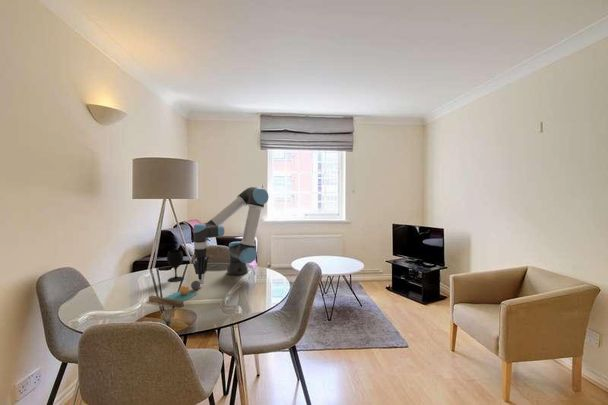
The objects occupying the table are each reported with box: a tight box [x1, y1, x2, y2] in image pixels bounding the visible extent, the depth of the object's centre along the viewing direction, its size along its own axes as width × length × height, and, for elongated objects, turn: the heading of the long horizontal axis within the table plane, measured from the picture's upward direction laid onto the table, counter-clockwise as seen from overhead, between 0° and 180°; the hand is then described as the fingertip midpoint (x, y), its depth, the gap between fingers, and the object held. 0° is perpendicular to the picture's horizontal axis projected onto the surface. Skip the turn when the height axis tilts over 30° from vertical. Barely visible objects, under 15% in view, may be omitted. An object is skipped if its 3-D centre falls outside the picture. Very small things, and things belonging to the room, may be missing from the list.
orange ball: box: [178, 285, 190, 295], centre depth 189 cm, size 6×6×6 cm
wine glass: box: [166, 249, 185, 283], centre depth 216 cm, size 10×10×20 cm
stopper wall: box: [148, 294, 185, 308], centre depth 176 cm, size 2×24×2 cm, turn 67°
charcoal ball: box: [190, 280, 201, 291], centre depth 197 cm, size 6×6×6 cm
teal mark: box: [164, 290, 198, 303], centre depth 186 cm, size 14×14×1 cm
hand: (201, 283), depth 203 cm, fingers closed
